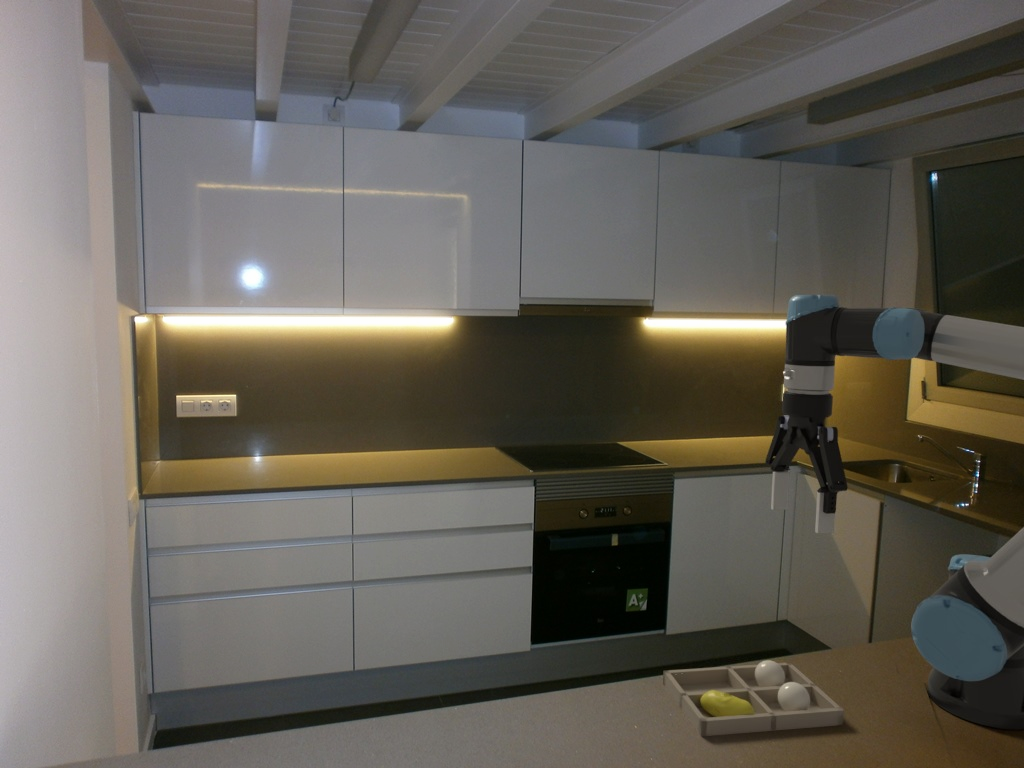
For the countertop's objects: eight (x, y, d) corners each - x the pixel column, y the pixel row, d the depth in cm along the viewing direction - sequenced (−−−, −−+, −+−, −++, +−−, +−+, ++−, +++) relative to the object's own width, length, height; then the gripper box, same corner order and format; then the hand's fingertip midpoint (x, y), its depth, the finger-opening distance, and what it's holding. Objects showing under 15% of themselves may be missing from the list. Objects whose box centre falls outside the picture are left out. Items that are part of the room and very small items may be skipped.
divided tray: (789, 678, 125) (790, 662, 125) (842, 728, 110) (843, 710, 110) (662, 687, 121) (663, 670, 121) (700, 740, 106) (701, 721, 106)
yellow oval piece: (706, 703, 115) (707, 679, 115) (758, 722, 110) (759, 696, 110) (695, 715, 112) (696, 690, 111) (747, 734, 107) (748, 708, 107)
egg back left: (809, 708, 114) (810, 679, 114) (809, 723, 110) (811, 694, 110) (777, 702, 116) (778, 674, 115) (776, 717, 112) (778, 687, 111)
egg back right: (784, 685, 121) (786, 658, 121) (784, 699, 117) (785, 670, 116) (754, 680, 123) (756, 653, 122) (753, 693, 119) (754, 665, 118)
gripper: (749, 383, 132) (743, 501, 134) (831, 401, 108) (822, 544, 110) (788, 383, 134) (782, 500, 136) (878, 400, 109) (869, 543, 111)
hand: (800, 520), depth 123 cm, fingers open, 13 cm apart
